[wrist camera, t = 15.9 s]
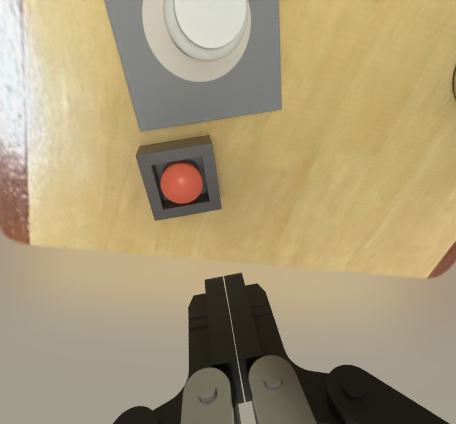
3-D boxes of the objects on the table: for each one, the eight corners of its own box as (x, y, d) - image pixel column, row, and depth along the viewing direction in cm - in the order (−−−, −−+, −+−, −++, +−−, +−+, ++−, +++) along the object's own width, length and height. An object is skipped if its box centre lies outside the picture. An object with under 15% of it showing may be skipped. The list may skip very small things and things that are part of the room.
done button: (197, 155, 29) (198, 162, 27) (204, 191, 31) (205, 199, 29) (157, 162, 28) (156, 169, 27) (166, 197, 30) (165, 206, 29)
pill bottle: (214, 71, 26) (232, 80, 17) (157, 39, 24) (145, 31, 16) (242, 7, 24) (278, -19, 15) (182, -34, 22) (185, -87, 14)
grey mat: (273, -120, 21) (275, -124, 20) (280, 108, 29) (282, 109, 28) (78, -100, 20) (75, -103, 20) (140, 130, 28) (140, 131, 27)
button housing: (209, 135, 29) (211, 143, 27) (218, 196, 33) (221, 208, 30) (139, 146, 29) (135, 155, 26) (157, 207, 32) (154, 220, 30)
